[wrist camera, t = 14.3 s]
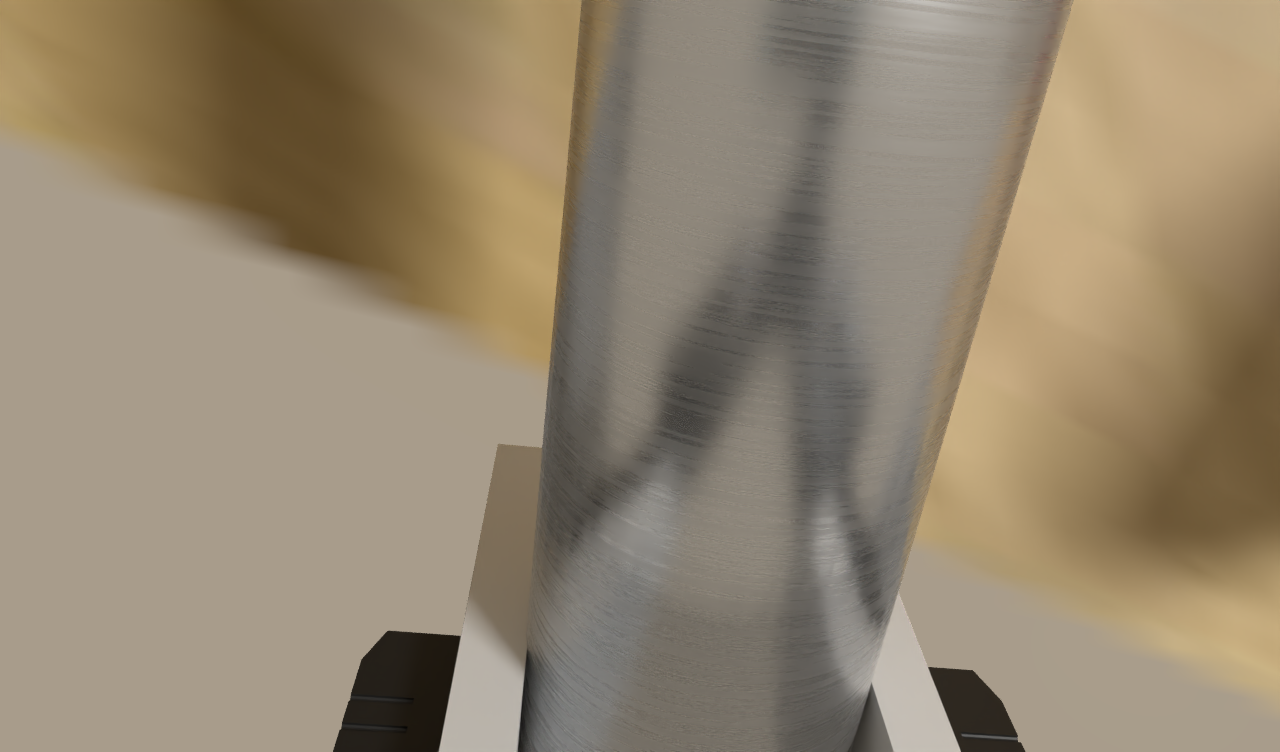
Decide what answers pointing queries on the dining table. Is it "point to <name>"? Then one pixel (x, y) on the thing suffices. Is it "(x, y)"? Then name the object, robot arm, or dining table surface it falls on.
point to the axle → (760, 351)
